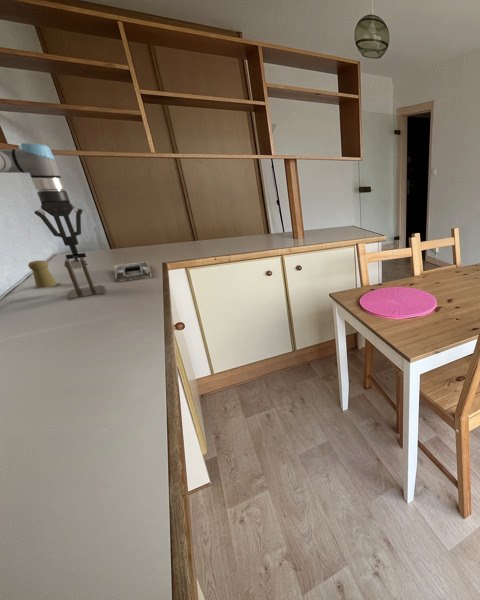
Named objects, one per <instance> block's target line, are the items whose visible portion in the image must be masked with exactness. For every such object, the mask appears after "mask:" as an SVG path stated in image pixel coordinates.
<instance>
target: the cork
mask: <svg viewBox="0 0 480 600" xmlns="http://www.w3.org/2000/svg"><path fill="white" fill-rule="evenodd" d="M27 266H28V268H29V269H30V271H32V274H33V278H34V282H35V287H36V288H38V289H40V288H42V289H43V288H50V287H53V286H57V284H58V283H57V281H56V280H55V278H54V276H53V275H52V274H51V272H50V270H49V264H48V262H47V261H46V260H33V261H30V262H28V264H27Z"/></svg>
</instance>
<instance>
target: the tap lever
mask: <svg viewBox="0 0 480 600" xmlns="http://www.w3.org/2000/svg"><path fill="white" fill-rule="evenodd" d="M65 258H66V259H69V260H70V263H71V266H72V269H73V270H74V269H75V270H76V269H82V265H81V262H80V258H87V254H86V253H85V252H78V254H72V253H71V254H65Z"/></svg>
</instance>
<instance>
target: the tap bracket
mask: <svg viewBox="0 0 480 600" xmlns="http://www.w3.org/2000/svg"><path fill="white" fill-rule="evenodd" d="M79 261H80V264H81V269H82V271H83V273H84V276H85V278H86V282H87V284H88V286H86V287H80V284H79V282H78V279H77V276H76V274H75V272H74V269H73V267H72V265H71V260H70V259H67V258H66V259H64V263H63V266H64V268H66V270H67V272H68V275H69V278H70V280H71V282H72V284H73V288H74V289H70V292H69V297H68V298H69V300H73V299H80V298H85V297H92V296H97V295H102V294H103V286H102V284H99V285H94V281H93V279H92V277H91V274H90V271H89V267H88V261H87V260H85V257H83V258H79Z"/></svg>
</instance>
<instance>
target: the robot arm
mask: <svg viewBox="0 0 480 600" xmlns="http://www.w3.org/2000/svg"><path fill="white" fill-rule="evenodd" d="M0 173H1V174H3V173H8V174H9V173H11V174H13V173H17V174H19V173H20V174H21V173H23V174H27V173H28V174H29V175H30V179H31V181H32V183H33V186H34V188H35V190H37V192H36V194H37V196H38V199H39V201H40V204H41V205H40V208H39V209H37V210H34V212H33V213H34V214H35V215H36V216H37V217H39V218H40V219H41V221H42V222H43V223H44V224H45V226H46V227H47V229H48V230H49V231H50V232H51V233H52V235H53V237H58V238H61V239H62V241H63V244H64V245H65V246H66V247H67V246H69V249H70V251H71V254H79V251H78V249H77V245H79V240H78V238H77V236H79V235H81V234H82V219H81V217H82V216H81V215H82V213H83V212H84V211H83V209H82V208H78V207H76V206H74V204H73V203H71V201H70V198H69V195H68V192H67V191H66V187H65V184H64V181H63V179H62V176H61V174H60V171H59V168H58V165H57V162H56V158H55V157H54V155H53V152H52V150H51V148H50V147H49V145H46V144H42V143H31V142H30V143H29V142H27V143H26V142H25V143H24V142H19V143H18V148H15V149H14V148H13V149H11V148H0ZM72 211H73V212H74V214H75V226H76V227H75V228H76V231H75V229H74V226H73V224H72V222H71V219H70V215H71V213H72ZM46 213H47V214H49V215H50V216H51V217H53V219H54V221H55V223H56V226H57V229H58V231H59V232H58V231H57V229H56V228H55V227H54V225H53V224H52V222H51V221H50V220H49V219H48V218H47V216H46ZM60 217H63V219H64V221H65V224H66V227H67V229H68V232H69V234H70V235H69V236H67V234H66V231H65V228H64V226H63V223H62V220H61V218H60Z"/></svg>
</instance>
